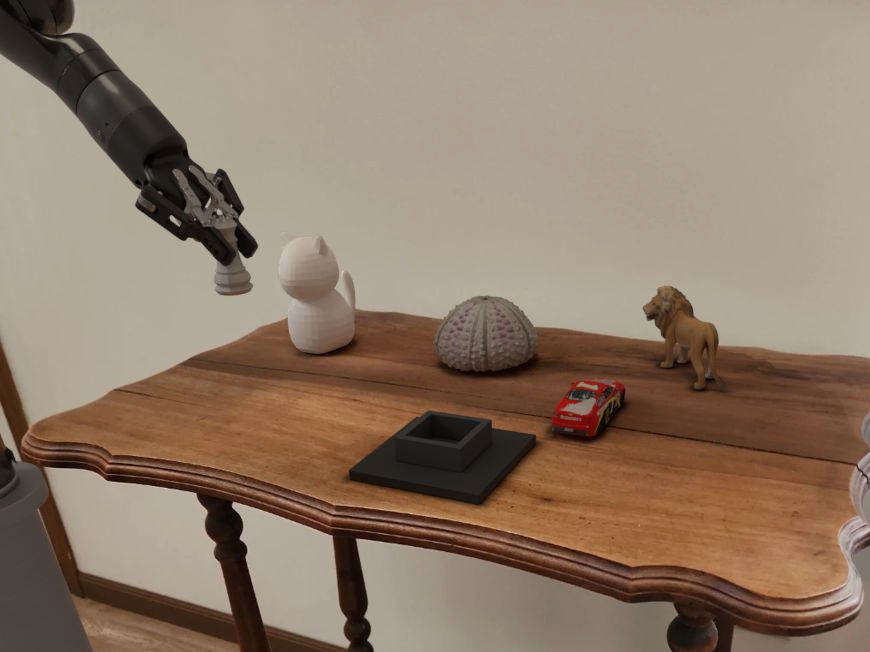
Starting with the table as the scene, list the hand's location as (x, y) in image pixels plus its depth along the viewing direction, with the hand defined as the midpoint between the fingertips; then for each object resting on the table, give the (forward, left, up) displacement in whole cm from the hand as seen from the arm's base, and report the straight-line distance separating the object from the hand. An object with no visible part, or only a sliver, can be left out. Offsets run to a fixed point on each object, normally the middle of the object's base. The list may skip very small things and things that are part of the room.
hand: (242, 256), depth 91 cm
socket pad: (-10, -30, -16) cm, 35 cm away
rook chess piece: (0, +2, -4) cm, 5 cm away
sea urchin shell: (+18, -22, -16) cm, 32 cm away
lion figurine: (+22, -46, -16) cm, 53 cm away
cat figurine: (+17, +2, -16) cm, 23 cm away
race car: (+5, -40, -16) cm, 43 cm away
